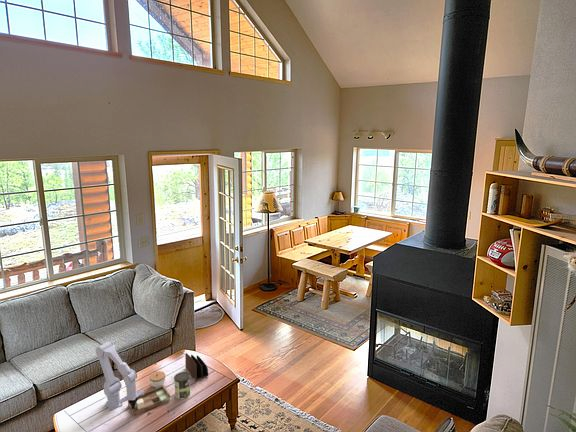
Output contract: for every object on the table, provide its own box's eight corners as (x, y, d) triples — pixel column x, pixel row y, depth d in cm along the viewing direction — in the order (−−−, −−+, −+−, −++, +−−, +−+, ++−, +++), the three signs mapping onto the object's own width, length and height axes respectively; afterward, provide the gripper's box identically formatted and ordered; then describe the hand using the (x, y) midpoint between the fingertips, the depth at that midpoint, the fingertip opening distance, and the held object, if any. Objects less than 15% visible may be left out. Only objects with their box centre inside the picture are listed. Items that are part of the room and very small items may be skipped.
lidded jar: (163, 390, 272) (162, 378, 270) (147, 390, 272) (146, 378, 270) (167, 380, 282) (166, 369, 280) (152, 380, 282) (152, 369, 280)
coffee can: (192, 390, 272) (192, 372, 268) (186, 400, 262) (185, 382, 259) (179, 388, 274) (178, 370, 270) (172, 398, 264) (171, 380, 261)
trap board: (128, 405, 256) (127, 399, 255) (163, 391, 271) (163, 385, 270) (134, 415, 247) (133, 409, 246) (170, 400, 262) (169, 394, 261)
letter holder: (196, 381, 282) (195, 364, 278) (185, 368, 297) (184, 351, 294) (208, 376, 287) (207, 359, 284) (197, 363, 303) (196, 347, 300)
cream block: (136, 406, 252) (135, 400, 251) (142, 403, 255) (141, 398, 254) (138, 409, 249) (137, 404, 248) (144, 406, 252) (143, 401, 251)
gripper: (121, 397, 239) (123, 416, 242) (145, 388, 247) (146, 406, 250) (118, 391, 244) (119, 410, 247) (141, 382, 253) (142, 400, 256)
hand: (133, 408), depth 249 cm, fingers closed
